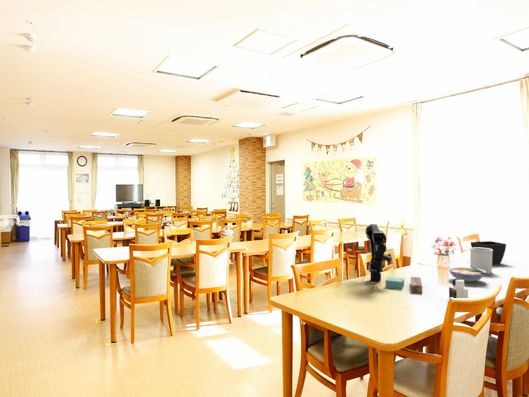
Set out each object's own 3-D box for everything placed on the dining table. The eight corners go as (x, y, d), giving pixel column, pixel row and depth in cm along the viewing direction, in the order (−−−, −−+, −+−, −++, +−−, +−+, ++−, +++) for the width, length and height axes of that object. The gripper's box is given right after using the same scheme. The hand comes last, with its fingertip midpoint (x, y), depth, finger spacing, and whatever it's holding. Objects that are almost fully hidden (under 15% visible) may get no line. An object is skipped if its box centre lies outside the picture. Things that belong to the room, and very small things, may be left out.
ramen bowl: (443, 276, 265) (443, 264, 265) (478, 277, 261) (478, 265, 260) (454, 285, 241) (454, 272, 241) (492, 286, 236) (492, 273, 236)
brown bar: (411, 293, 226) (411, 285, 226) (410, 284, 247) (410, 276, 247) (422, 293, 224) (422, 285, 224) (420, 284, 245) (420, 277, 245)
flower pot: (470, 261, 316) (469, 241, 315) (490, 260, 318) (490, 240, 317) (485, 265, 297) (485, 244, 296) (507, 264, 299) (507, 244, 298)
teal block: (385, 287, 239) (385, 280, 239) (388, 284, 248) (388, 276, 248) (401, 289, 234) (401, 281, 234) (404, 285, 243) (404, 278, 243)
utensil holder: (496, 272, 274) (496, 248, 273) (487, 275, 265) (486, 251, 265) (476, 268, 286) (476, 246, 285) (466, 271, 278) (466, 248, 277)
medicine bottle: (448, 298, 213) (448, 278, 212) (460, 298, 213) (460, 277, 213) (456, 302, 206) (456, 281, 205) (468, 301, 206) (468, 280, 206)
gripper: (389, 253, 233) (390, 278, 233) (392, 248, 250) (393, 271, 250) (371, 252, 237) (372, 276, 238) (375, 247, 254) (376, 270, 255)
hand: (378, 273), depth 245 cm, fingers closed
